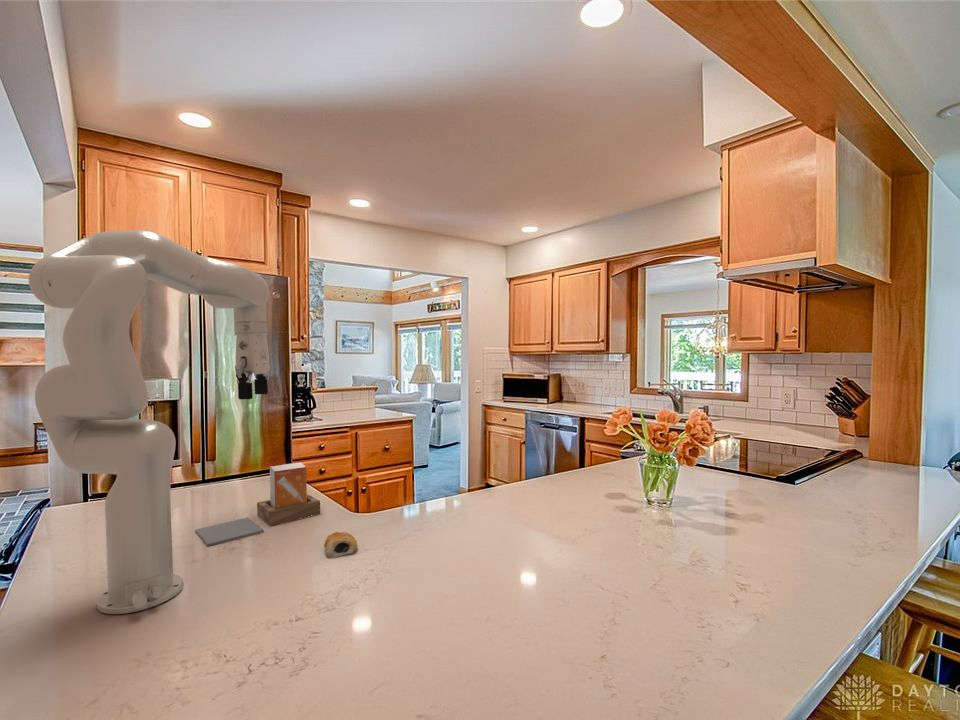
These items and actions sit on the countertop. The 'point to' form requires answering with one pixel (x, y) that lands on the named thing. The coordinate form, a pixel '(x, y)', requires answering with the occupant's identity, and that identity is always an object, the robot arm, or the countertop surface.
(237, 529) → the mat
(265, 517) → the holder
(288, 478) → the small box
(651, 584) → the countertop surface
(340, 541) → the pastry
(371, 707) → the countertop surface
